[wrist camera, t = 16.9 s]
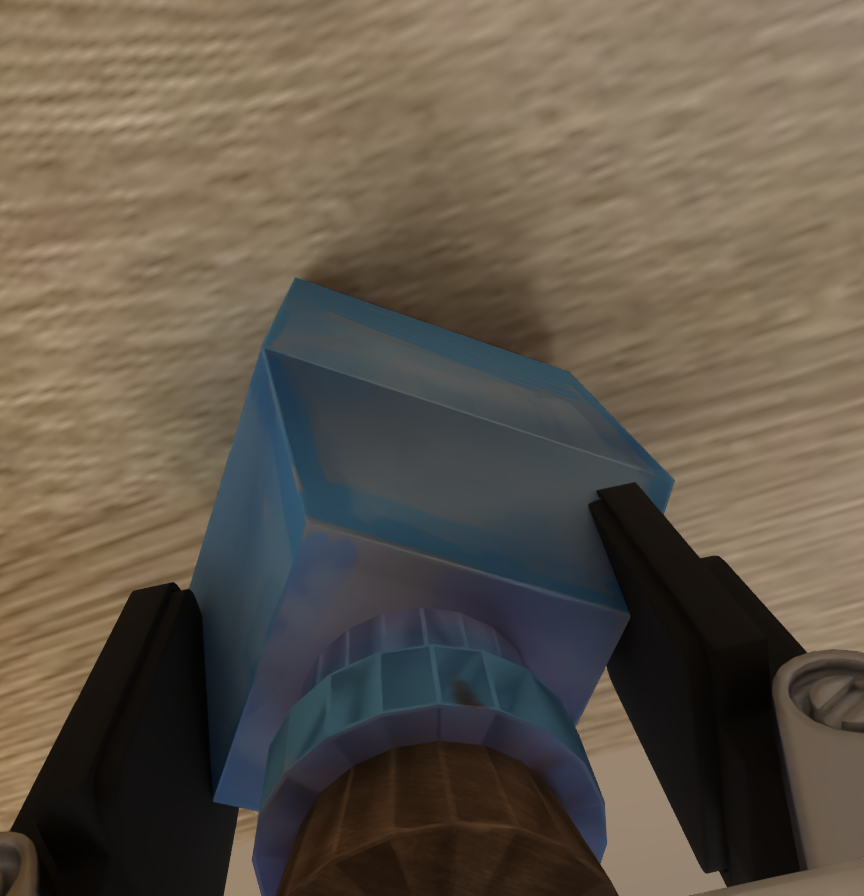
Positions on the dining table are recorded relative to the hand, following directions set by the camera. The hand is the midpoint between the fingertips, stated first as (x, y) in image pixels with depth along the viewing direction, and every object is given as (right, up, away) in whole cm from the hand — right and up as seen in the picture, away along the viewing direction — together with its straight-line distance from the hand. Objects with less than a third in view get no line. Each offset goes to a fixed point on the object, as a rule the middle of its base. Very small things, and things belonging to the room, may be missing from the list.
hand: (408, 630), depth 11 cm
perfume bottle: (-1, +2, +7) cm, 7 cm away
